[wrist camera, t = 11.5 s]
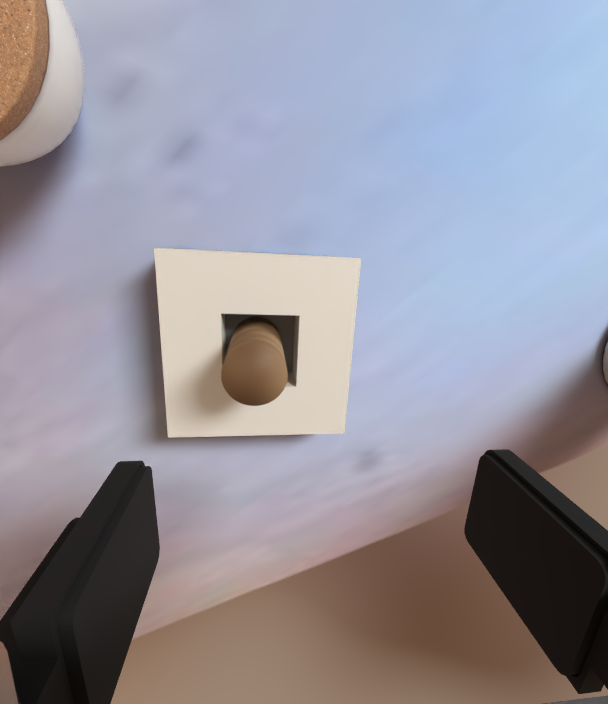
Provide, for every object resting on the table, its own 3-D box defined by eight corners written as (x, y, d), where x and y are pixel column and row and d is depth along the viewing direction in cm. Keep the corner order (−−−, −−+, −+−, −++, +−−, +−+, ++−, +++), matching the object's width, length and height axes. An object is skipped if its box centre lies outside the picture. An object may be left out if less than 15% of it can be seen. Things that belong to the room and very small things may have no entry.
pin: (281, 316, 28) (287, 343, 20) (280, 362, 29) (287, 404, 22) (231, 316, 27) (219, 344, 20) (233, 363, 29) (222, 407, 21)
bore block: (347, 257, 28) (361, 258, 24) (334, 411, 32) (344, 433, 28) (169, 248, 26) (154, 248, 22) (179, 413, 30) (168, 437, 26)
